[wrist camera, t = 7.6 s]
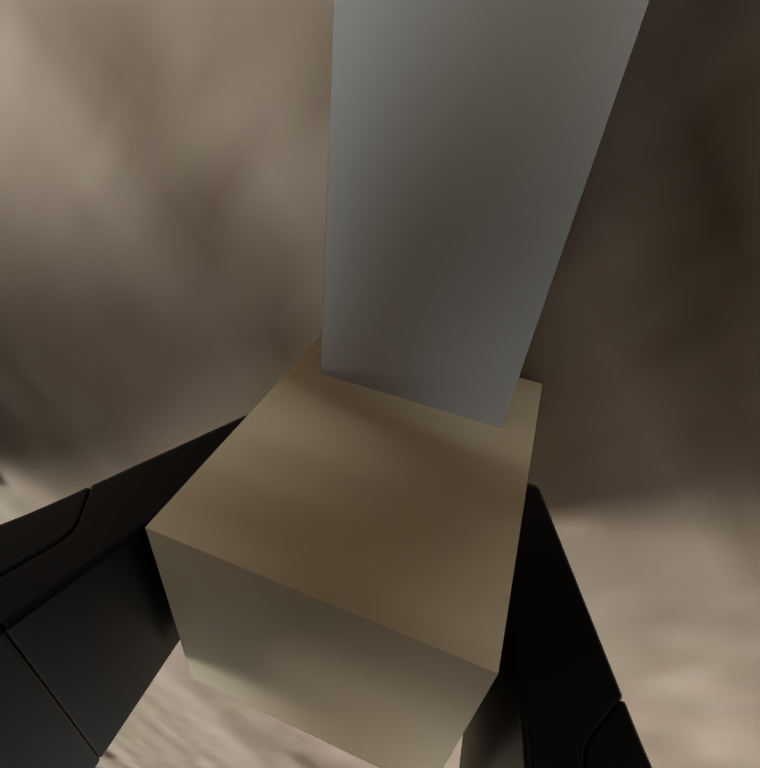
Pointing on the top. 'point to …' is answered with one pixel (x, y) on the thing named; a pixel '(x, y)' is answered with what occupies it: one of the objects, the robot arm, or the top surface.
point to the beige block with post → (402, 382)
